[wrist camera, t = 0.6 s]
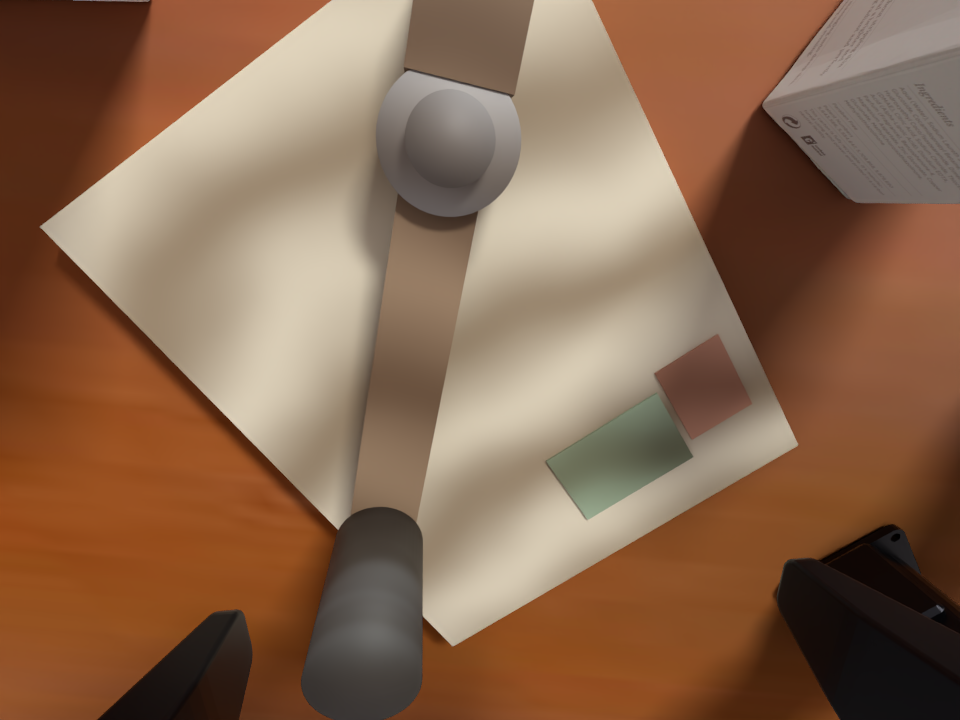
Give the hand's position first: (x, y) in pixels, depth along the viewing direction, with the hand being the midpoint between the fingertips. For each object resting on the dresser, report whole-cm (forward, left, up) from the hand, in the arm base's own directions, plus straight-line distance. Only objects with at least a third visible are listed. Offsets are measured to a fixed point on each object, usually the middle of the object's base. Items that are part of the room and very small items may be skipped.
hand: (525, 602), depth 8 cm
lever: (+3, 0, -11) cm, 11 cm away
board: (0, 0, -13) cm, 13 cm away
